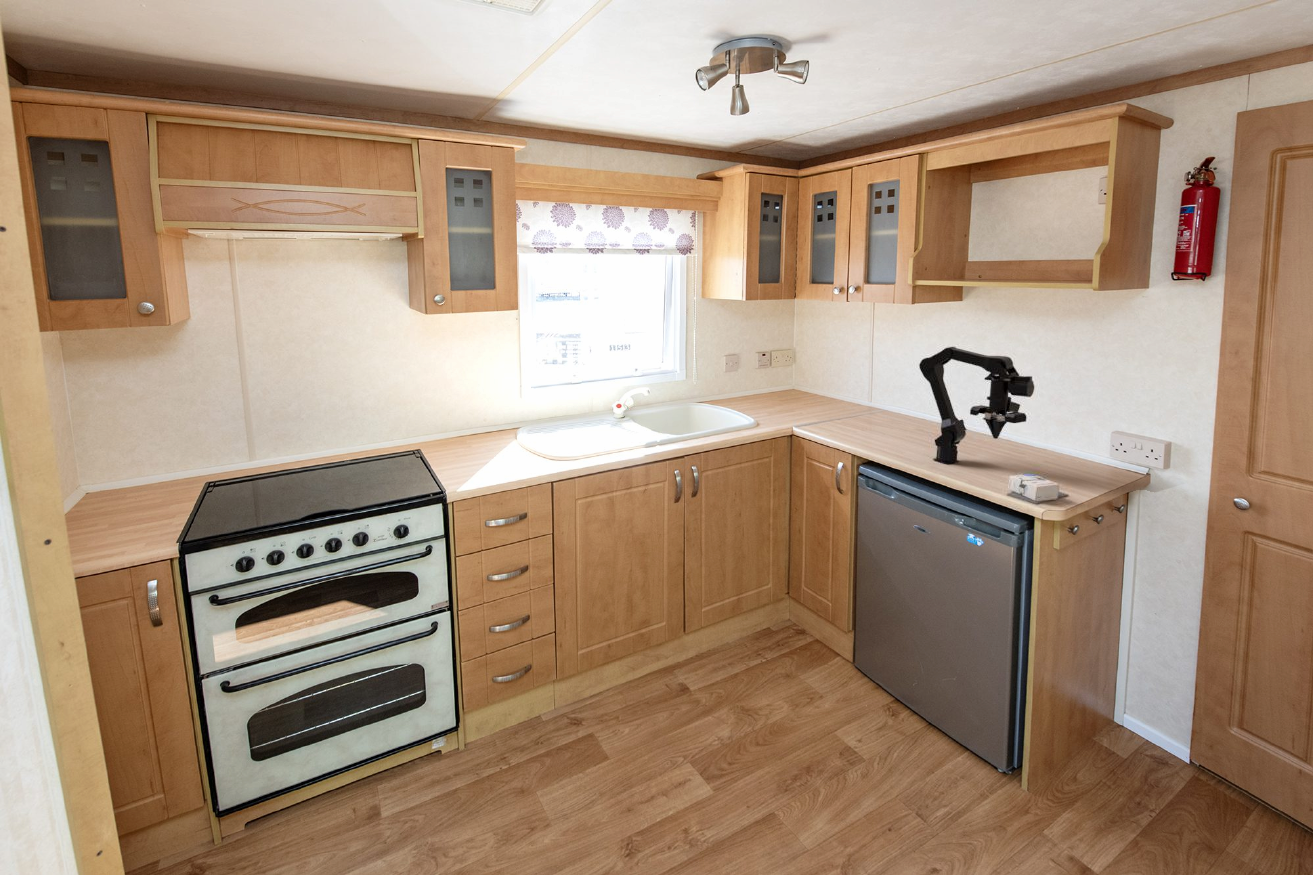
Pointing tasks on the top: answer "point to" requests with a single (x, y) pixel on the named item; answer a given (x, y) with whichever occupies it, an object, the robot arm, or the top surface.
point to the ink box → (1033, 487)
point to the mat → (1031, 499)
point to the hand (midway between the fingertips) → (995, 438)
